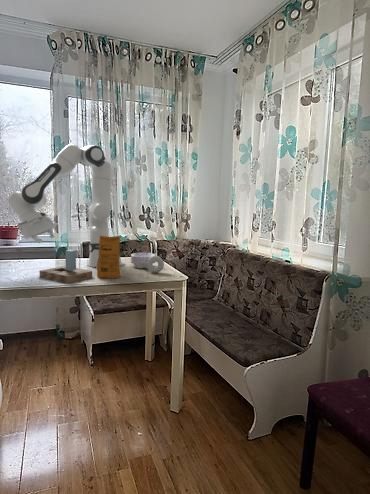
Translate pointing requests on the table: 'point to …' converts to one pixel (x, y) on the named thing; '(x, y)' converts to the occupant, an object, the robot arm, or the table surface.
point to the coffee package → (108, 257)
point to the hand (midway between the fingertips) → (47, 240)
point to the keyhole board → (65, 274)
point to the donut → (153, 259)
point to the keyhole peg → (70, 260)
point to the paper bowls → (141, 259)
